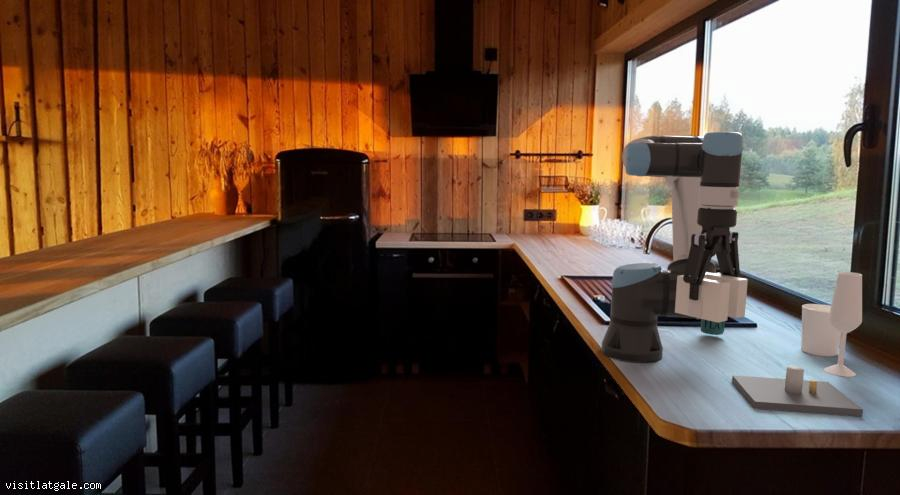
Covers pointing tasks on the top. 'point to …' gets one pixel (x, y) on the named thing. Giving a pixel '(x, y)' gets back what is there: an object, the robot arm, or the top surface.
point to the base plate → (795, 394)
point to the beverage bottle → (712, 323)
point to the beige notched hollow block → (715, 297)
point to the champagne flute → (845, 314)
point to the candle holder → (818, 331)
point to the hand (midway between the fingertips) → (709, 311)
